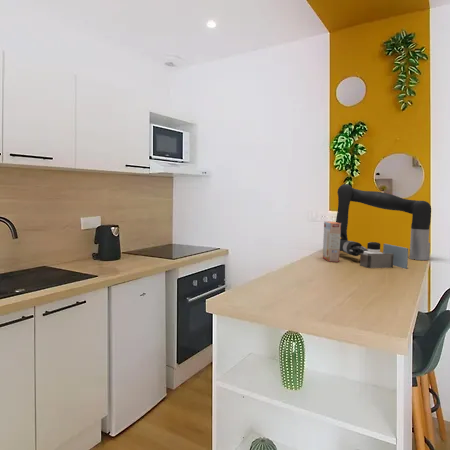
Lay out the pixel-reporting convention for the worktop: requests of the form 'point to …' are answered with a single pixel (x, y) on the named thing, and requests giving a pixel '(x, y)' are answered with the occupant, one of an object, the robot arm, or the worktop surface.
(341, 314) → the worktop surface
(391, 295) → the worktop surface
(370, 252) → the medicine bottle
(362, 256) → the keeper
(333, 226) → the cracker box
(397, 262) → the door board
